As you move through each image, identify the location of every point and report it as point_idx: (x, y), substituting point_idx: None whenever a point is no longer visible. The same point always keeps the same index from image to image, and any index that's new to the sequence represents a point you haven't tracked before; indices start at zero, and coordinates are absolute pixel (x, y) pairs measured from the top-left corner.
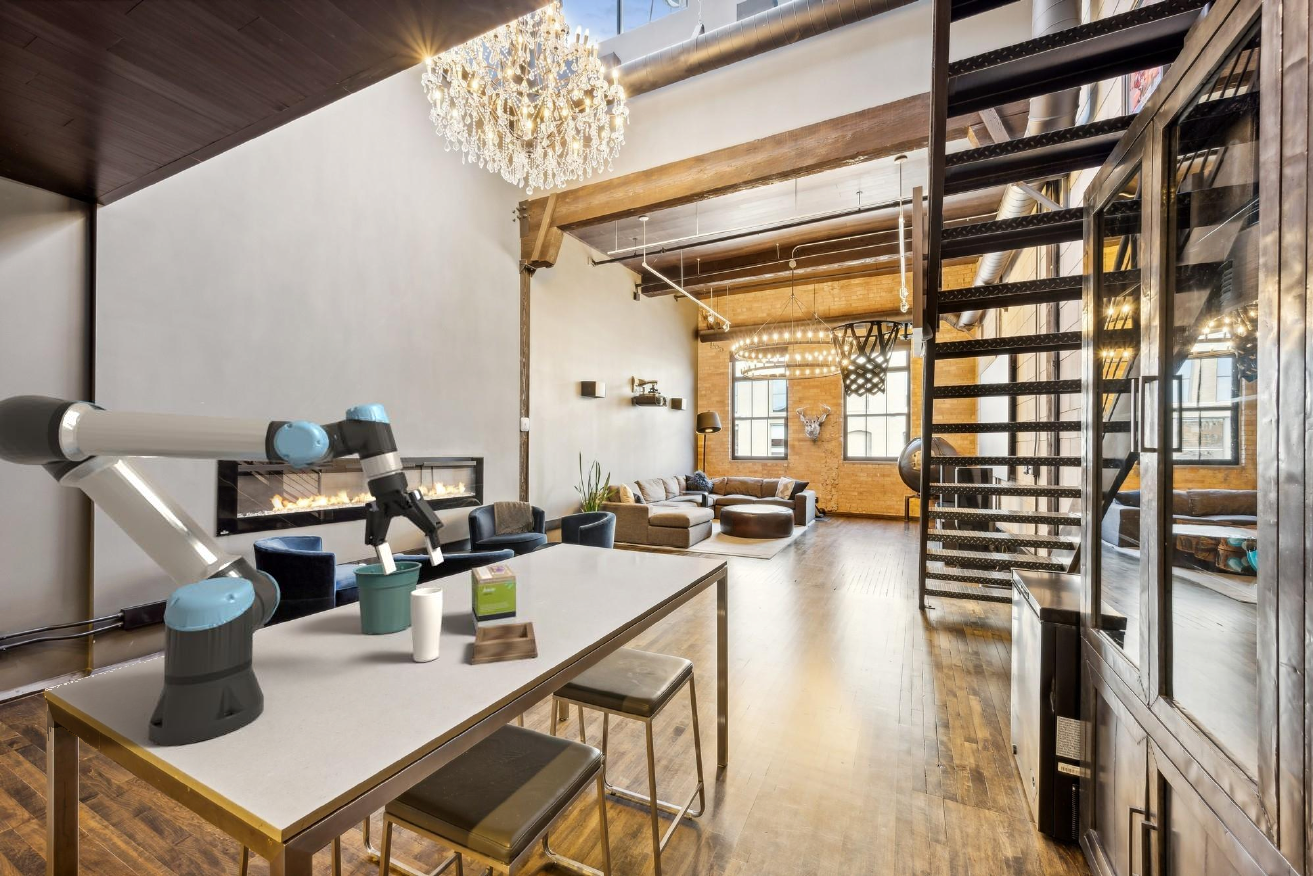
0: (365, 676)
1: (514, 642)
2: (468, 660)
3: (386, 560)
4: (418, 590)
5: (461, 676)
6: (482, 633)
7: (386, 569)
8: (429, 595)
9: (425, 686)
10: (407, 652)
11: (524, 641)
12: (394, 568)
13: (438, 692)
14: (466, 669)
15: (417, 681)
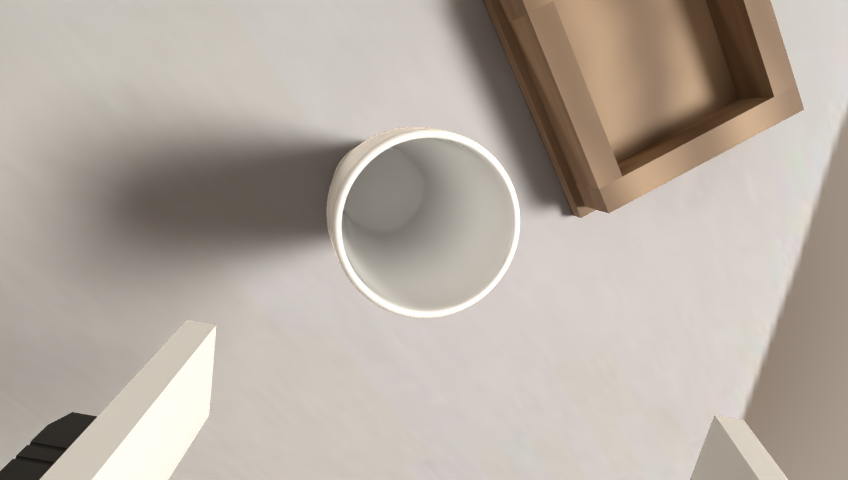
0: (262, 371)
1: (733, 144)
2: (542, 176)
3: (163, 457)
4: (346, 195)
5: (583, 306)
6: (579, 71)
7: (193, 432)
8: (488, 289)
9: (512, 393)
10: (253, 134)
11: (765, 127)
12: (207, 346)
13: (572, 418)
14: (572, 252)
15: (466, 368)
